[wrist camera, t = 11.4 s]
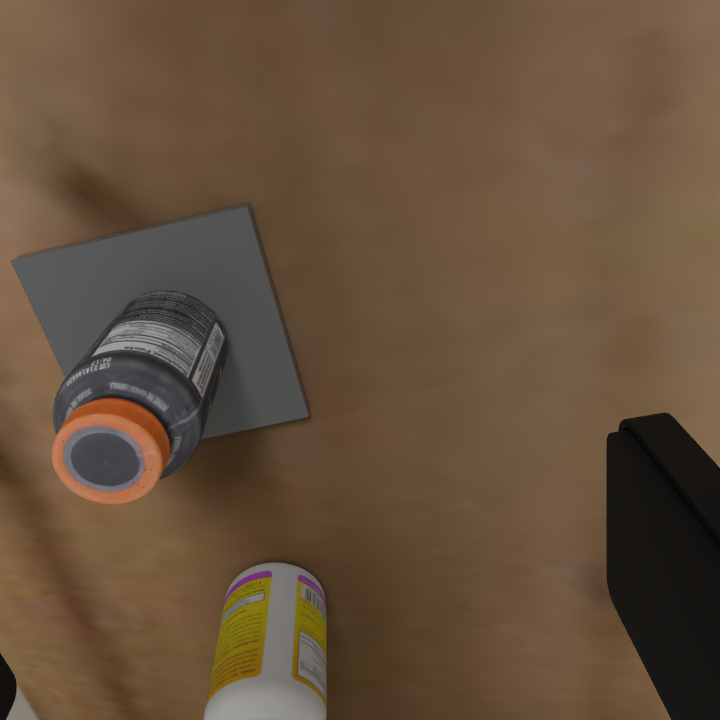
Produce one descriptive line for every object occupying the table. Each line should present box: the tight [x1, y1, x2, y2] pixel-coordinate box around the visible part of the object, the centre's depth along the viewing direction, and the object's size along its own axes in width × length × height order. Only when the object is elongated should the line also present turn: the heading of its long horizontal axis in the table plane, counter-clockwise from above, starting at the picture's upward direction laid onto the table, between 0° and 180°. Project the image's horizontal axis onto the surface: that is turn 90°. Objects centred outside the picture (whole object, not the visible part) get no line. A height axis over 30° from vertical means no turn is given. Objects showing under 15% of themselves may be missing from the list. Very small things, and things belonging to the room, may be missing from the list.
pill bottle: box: [51, 290, 228, 505], centre depth 28 cm, size 6×6×11 cm
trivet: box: [11, 202, 309, 440], centre depth 34 cm, size 12×12×1 cm
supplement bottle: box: [203, 562, 327, 720], centre depth 37 cm, size 7×7×13 cm
